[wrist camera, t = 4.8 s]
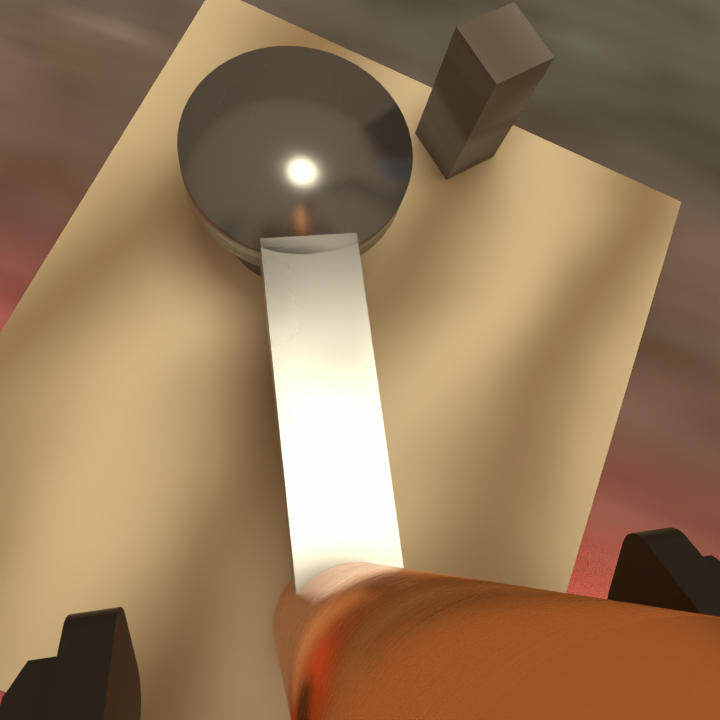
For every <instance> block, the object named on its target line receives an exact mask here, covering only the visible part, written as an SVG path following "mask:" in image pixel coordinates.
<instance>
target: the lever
mask: <svg viewBox="0 0 720 720" xmlns="http://www.w3.org/2000/svg"><path fill="white" fill-rule="evenodd" d="M177 151H178V158H179V165H180V170H181V175H182V180H183V185H184V189H185V192H186V196H187V199H188V202H189V204H190V206H191V208H192V210H193V213H194V215H195V216H196V218H197V219H198V221H199V222H200V224H201V225H202V227H203V228H204V229H205V230H206V231H207V232H208V234H209V235H210V236H211V237H212V238H213V239H214V240H215V241H217V242H218V243H219V244H220V245H221V246H222V247H223V248H225V249H226V250H228V251H229V252H231V253H232V254H234V255H235V256H237V257H239V258H241V259H243V260H245V261H247V262H249V263H251V264H254V265H257V266H259V267H261V276H262V286H263V296H264V306H265V316H266V325H267V335H268V345H269V355H270V365H271V374H272V384H273V394H274V404H275V414H276V424H277V433H278V443H279V453H280V463H281V473H282V482H283V492H284V502H285V512H286V522H287V531H288V541H289V551H290V561H291V571H292V580H291V581H290V582H289V583H288V585H287V586H286V588H285V589H284V591H283V592H282V594H281V596H280V598H279V601H278V604H277V607H276V611H275V615H274V625H273V627H274V639H275V645H276V650H277V654H278V659H279V664H280V669H281V674H282V679H283V684H284V689H285V693H286V698H287V703H288V708H289V713H290V718H291V720H720V617H717V616H711V615H704V614H698V613H691V612H685V611H678V610H672V609H666V608H659V607H653V606H646V605H640V604H633V603H627V602H620V601H614V600H607V599H601V598H594V597H588V596H581V595H575V594H568V593H562V592H556V591H549V590H543V589H536V588H530V587H523V586H517V585H510V584H504V583H497V582H491V581H484V580H478V579H471V578H465V577H458V576H452V575H446V574H439V573H433V572H426V571H420V570H413V569H407V568H404V566H403V559H402V551H401V544H400V537H399V530H398V523H397V516H396V509H395V502H394V494H393V487H392V480H391V473H390V466H389V459H388V452H387V445H386V437H385V430H384V423H383V416H382V409H381V402H380V395H379V388H378V380H377V373H376V366H375V359H374V352H373V345H372V338H371V331H370V323H369V316H368V309H367V302H366V295H365V288H364V281H363V274H362V266H361V259H360V256H361V255H363V254H364V253H365V252H367V251H368V250H369V249H371V248H372V247H373V246H374V245H375V244H376V243H377V242H378V241H379V240H380V239H381V238H382V237H383V236H384V234H385V233H386V232H387V230H388V229H389V228H390V226H391V224H392V222H393V220H394V218H395V217H396V214H397V212H398V210H399V207H400V205H401V203H402V200H403V198H404V196H405V193H406V191H407V188H408V185H409V182H410V178H411V173H412V166H413V150H412V141H411V137H410V132H409V128H408V126H407V123H406V121H405V118H404V116H403V114H402V112H401V110H400V108H399V107H398V105H397V103H396V102H395V100H394V99H393V98H392V96H391V95H390V93H389V92H388V91H387V90H386V89H385V88H384V87H383V86H382V85H381V84H380V82H378V81H377V80H376V79H375V78H374V77H373V76H371V75H370V74H369V73H368V72H366V71H365V70H363V69H362V68H360V67H359V66H357V65H356V64H354V63H352V62H350V61H348V60H346V59H344V58H342V57H340V56H337V55H335V54H332V53H329V52H326V51H322V50H318V49H314V48H308V47H302V46H272V47H266V48H260V49H256V50H252V51H249V52H246V53H243V54H240V55H238V56H236V57H234V58H231V59H229V60H228V61H226V62H224V63H223V64H221V65H220V66H218V67H217V68H215V69H214V70H213V71H212V72H210V73H209V74H208V75H207V76H206V77H205V78H204V79H203V80H202V81H201V82H200V83H199V84H198V85H197V87H196V88H195V90H194V91H193V93H192V94H191V95H190V97H189V99H188V101H187V103H186V105H185V107H184V109H183V112H182V115H181V119H180V122H179V128H178V134H177Z"/></svg>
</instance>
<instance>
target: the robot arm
mask: <svg viewBox="0 0 720 720" xmlns="http://www.w3.org/2000/svg"><path fill="white" fill-rule="evenodd" d="M608 600H614V601H620V602H627V603H633V604H640V605H646V606H653V607H659V608H666V609H672V610H678V611H685V612H691V613H698V614H704V615H711V616H717V617H720V561H719V560H718V559H716V558H715V557H713V556H712V555H711V556H704V557H703V556H702V555H701V554H700V553H699V551H698V550H697V549H696V548H695V547H694V546H693V544H692V543H691V542H690V541H689V540H688V538H687V537H686V536H685V535H684V534H683V533H682V532H681V531H679V530H677V529H675V528H664V529H658V530H651V531H644V532H637V533H631V534H628V535H627V536H626V537H625V539H624V541H623V544H622V548H621V551H620V555H619V558H618V562H617V565H616V569H615V573H614V576H613V580H612V583H611V587H610V590H609V594H608ZM0 720H141V685H140V676H139V670H138V665H137V661H136V657H135V653H134V649H133V645H132V640H131V636H130V632H129V628H128V624H127V620H126V615H125V612H124V609H123V608H122V607H116V608H109V609H102V610H95V611H88V612H82V613H75V614H69V615H68V616H67V617H66V619H65V621H64V625H63V629H62V633H61V638H60V643H59V648H58V653H57V656H55V657H48V658H42V659H36V660H29V661H27V663H26V664H25V666H24V667H23V668H22V670H21V671H20V673H19V674H18V676H17V677H16V679H15V680H14V682H13V683H12V685H11V686H10V687H9V689H8V690H7V692H6V693H5V695H4V696H3V698H2V701H1V705H0Z"/></svg>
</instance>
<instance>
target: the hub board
mask: <svg viewBox="0 0 720 720" xmlns="http://www.w3.org/2000/svg"><path fill="white" fill-rule="evenodd" d="M272 46H302V47H308V48H314V49H318V50H322V51H326V52H329V53H332V54H335V55H337V56H340V57H342V58H344V59H346V60H348V61H350V62H352V63H354V64H356V65H357V66H359V67H360V68H362V69H363V70H365V71H366V72H368V73H369V74H370V75H371V76H373V77H374V78H375V79H376V80H377V81H378V82H380V84H381V85H382V86H383V87H384V88H385V89H386V90H387V91H388V92H389V93H390V95H391V96H392V98H393V99H394V100H395V102H396V103H397V105H398V107H399V108H400V110H401V112H402V114H403V116H404V118H405V121H406V123H407V126H408V128H409V132H410V137H411V141H412V150H413V166H412V173H411V178H410V182H409V185H408V188H407V191H406V193H405V196H404V198H403V200H402V203H401V205H400V207H399V210H398V212H397V214H396V217H395V218H394V220H393V222H392V224H391V226H390V228H389V229H388V230H387V232H386V233H385V234H384V236H383V237H382V238H381V239H380V240H379V241H378V242H377V243H376V244H375V245H374V246H373V247H372V248H371V249H369V250H368V251H367V252H365V253H364V254H363V255H361V256H360V259H361V266H362V274H363V281H364V288H365V295H366V302H367V309H368V316H369V323H370V331H371V338H372V345H373V352H374V359H375V366H376V373H377V380H378V388H379V395H380V402H381V409H382V416H383V423H384V430H385V437H386V445H387V452H388V459H389V466H390V473H391V480H392V487H393V494H394V502H395V509H396V516H397V523H398V530H399V537H400V544H401V551H402V559H403V566H404V568H407V569H413V570H420V571H426V572H433V573H439V574H446V575H452V576H458V577H465V578H471V579H478V580H484V581H491V582H497V583H504V584H510V585H517V586H523V587H530V588H536V589H543V590H549V591H556V592H562V593H566V591H567V588H568V584H569V581H570V578H571V574H572V571H573V567H574V564H575V561H576V557H577V554H578V550H579V547H580V544H581V540H582V537H583V533H584V530H585V527H586V523H587V520H588V516H589V513H590V510H591V506H592V503H593V499H594V496H595V493H596V489H597V486H598V483H599V479H600V476H601V472H602V469H603V466H604V462H605V459H606V455H607V452H608V449H609V445H610V442H611V438H612V435H613V432H614V428H615V425H616V421H617V418H618V415H619V411H620V408H621V405H622V401H623V398H624V394H625V391H626V388H627V384H628V381H629V377H630V374H631V371H632V367H633V364H634V360H635V357H636V354H637V350H638V347H639V343H640V340H641V337H642V333H643V330H644V326H645V323H646V320H647V316H648V313H649V310H650V306H651V303H652V299H653V296H654V293H655V289H656V286H657V282H658V279H659V276H660V272H661V269H662V265H663V262H664V259H665V255H666V252H667V248H668V245H669V242H670V238H671V235H672V231H673V228H674V225H675V221H676V218H677V215H678V211H679V208H680V204H681V202H680V201H678V200H676V199H674V198H671V197H669V196H667V195H665V194H663V193H660V192H658V191H656V190H654V189H652V188H650V187H647V186H645V185H643V184H641V183H639V182H636V181H634V180H632V179H630V178H628V177H625V176H623V175H621V174H619V173H617V172H615V171H612V170H610V169H608V168H606V167H604V166H601V165H599V164H597V163H595V162H593V161H590V160H588V159H586V158H584V157H582V156H580V155H577V154H575V153H573V152H571V151H569V150H566V149H564V148H562V147H560V146H558V145H555V144H553V143H551V142H549V141H547V140H545V139H542V138H540V137H538V136H536V135H534V134H531V133H529V132H527V131H525V130H523V129H521V128H518V127H516V126H514V125H513V124H514V122H515V121H516V119H517V118H518V116H519V114H520V113H521V111H522V109H523V108H524V106H525V104H526V103H527V101H528V100H529V98H530V96H531V95H532V93H533V91H534V90H535V88H536V87H537V85H538V83H539V82H540V80H541V78H542V77H543V75H544V74H545V72H546V70H547V69H548V67H549V65H550V64H551V62H552V61H553V59H554V56H553V55H552V54H551V52H550V51H549V49H548V48H547V47H546V45H545V44H544V42H543V41H542V40H541V38H540V37H539V36H538V34H537V33H536V31H535V30H534V29H533V27H532V26H531V24H530V23H529V22H528V20H527V19H526V18H525V16H524V15H523V13H522V12H521V11H520V9H519V8H518V6H517V5H516V4H515V2H513V3H510V4H508V5H506V6H503V7H501V8H499V9H496V10H494V11H492V12H489V13H487V14H485V15H482V16H480V17H478V18H475V19H473V20H471V21H468V22H466V23H464V24H461V25H459V26H457V27H456V29H455V31H454V34H453V36H452V39H451V42H450V44H449V47H448V49H447V52H446V54H445V57H444V60H443V62H442V65H441V67H440V70H439V72H438V75H437V78H436V80H435V83H434V85H433V88H431V87H429V86H426V85H424V84H422V83H420V82H418V81H416V80H413V79H411V78H409V77H407V76H405V75H402V74H400V73H398V72H396V71H394V70H392V69H389V68H387V67H385V66H383V65H381V64H378V63H376V62H374V61H372V60H370V59H367V58H365V57H363V56H361V55H359V54H357V53H354V52H352V51H350V50H348V49H346V48H343V47H341V46H339V45H337V44H335V43H332V42H330V41H328V40H326V39H324V38H322V37H319V36H317V35H315V34H313V33H311V32H308V31H306V30H304V29H302V28H300V27H298V26H295V25H293V24H291V23H289V22H287V21H284V20H282V19H280V18H278V17H276V16H273V15H271V14H269V13H267V12H265V11H263V10H260V9H258V8H256V7H254V6H252V5H249V4H247V3H245V2H243V1H241V0H205V2H204V3H203V5H202V7H201V8H200V10H199V11H198V13H197V15H196V16H195V18H194V20H193V21H192V23H191V24H190V26H189V28H188V29H187V31H186V33H185V34H184V36H183V37H182V39H181V41H180V42H179V44H178V45H177V47H176V49H175V50H174V52H173V54H172V55H171V57H170V58H169V60H168V62H167V63H166V65H165V67H164V68H163V70H162V71H161V73H160V75H159V76H158V78H157V79H156V81H155V83H154V84H153V86H152V88H151V89H150V91H149V92H148V94H147V96H146V97H145V99H144V101H143V102H142V104H141V105H140V107H139V109H138V110H137V112H136V114H135V115H134V117H133V118H132V120H131V122H130V123H129V125H128V126H127V128H126V130H125V131H124V133H123V135H122V136H121V138H120V139H119V141H118V143H117V144H116V146H115V148H114V149H113V151H112V152H111V154H110V156H109V157H108V159H107V160H106V162H105V164H104V165H103V167H102V169H101V170H100V172H99V173H98V175H97V177H96V178H95V180H94V182H93V183H92V185H91V186H90V188H89V190H88V191H87V193H86V195H85V196H84V198H83V199H82V201H81V203H80V204H79V206H78V207H77V209H76V211H75V212H74V214H73V216H72V217H71V219H70V220H69V222H68V224H67V225H66V227H65V229H64V230H63V232H62V233H61V235H60V237H59V238H58V240H57V241H56V243H55V245H54V246H53V248H52V250H51V251H50V253H49V254H48V256H47V258H46V259H45V261H44V263H43V264H42V266H41V267H40V269H39V271H38V272H37V274H36V276H35V277H34V279H33V280H32V282H31V284H30V285H29V287H28V288H27V290H26V292H25V293H24V295H23V297H22V298H21V300H20V301H19V303H18V305H17V306H16V308H15V310H14V311H13V313H12V314H11V316H10V318H9V319H8V321H7V322H6V324H5V326H4V327H3V329H2V331H1V332H0V690H1V691H3V692H7V690H8V689H9V687H10V686H11V685H12V683H13V682H14V680H15V679H16V677H17V676H18V674H19V673H20V671H21V670H22V668H23V667H24V666H25V664H26V663H27V661H29V660H36V659H42V658H48V657H55V656H57V653H58V648H59V643H60V638H61V633H62V629H63V625H64V621H65V619H66V617H67V616H68V615H69V614H75V613H82V612H88V611H95V610H102V609H109V608H116V607H122V608H123V609H124V612H125V615H126V620H127V624H128V628H129V632H130V636H131V640H132V645H133V649H134V653H135V657H136V661H137V665H138V670H139V676H140V685H141V720H291V718H290V713H289V708H288V703H287V698H286V693H285V689H284V684H283V679H282V674H281V669H280V664H279V659H278V654H277V650H276V645H275V639H274V627H273V625H274V615H275V611H276V607H277V604H278V601H279V598H280V596H281V594H282V592H283V591H284V589H285V588H286V586H287V585H288V583H289V582H290V581H291V580H292V571H291V561H290V551H289V541H288V531H287V522H286V512H285V502H284V492H283V482H282V473H281V463H280V453H279V443H278V433H277V424H276V414H275V404H274V394H273V384H272V374H271V365H270V355H269V345H268V335H267V325H266V316H265V306H264V296H263V286H262V276H261V267H259V266H257V265H254V264H251V263H249V262H247V261H245V260H243V259H241V258H239V257H237V256H235V255H234V254H232V253H231V252H229V251H228V250H226V249H225V248H223V247H222V246H221V245H220V244H219V243H218V242H217V241H215V240H214V239H213V238H212V237H211V236H210V235H209V234H208V232H207V231H206V230H205V229H204V228H203V227H202V225H201V224H200V222H199V221H198V219H197V218H196V216H195V215H194V213H193V210H192V208H191V206H190V204H189V202H188V199H187V196H186V192H185V189H184V185H183V180H182V175H181V170H180V165H179V158H178V151H177V134H178V128H179V122H180V119H181V115H182V112H183V109H184V107H185V105H186V103H187V101H188V99H189V97H190V95H191V94H192V93H193V91H194V90H195V88H196V87H197V85H198V84H199V83H200V82H201V81H202V80H203V79H204V78H205V77H206V76H207V75H208V74H209V73H210V72H212V71H213V70H214V69H215V68H217V67H218V66H220V65H221V64H223V63H224V62H226V61H228V60H229V59H231V58H234V57H236V56H238V55H240V54H243V53H246V52H249V51H252V50H256V49H260V48H266V47H272Z"/></svg>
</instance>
